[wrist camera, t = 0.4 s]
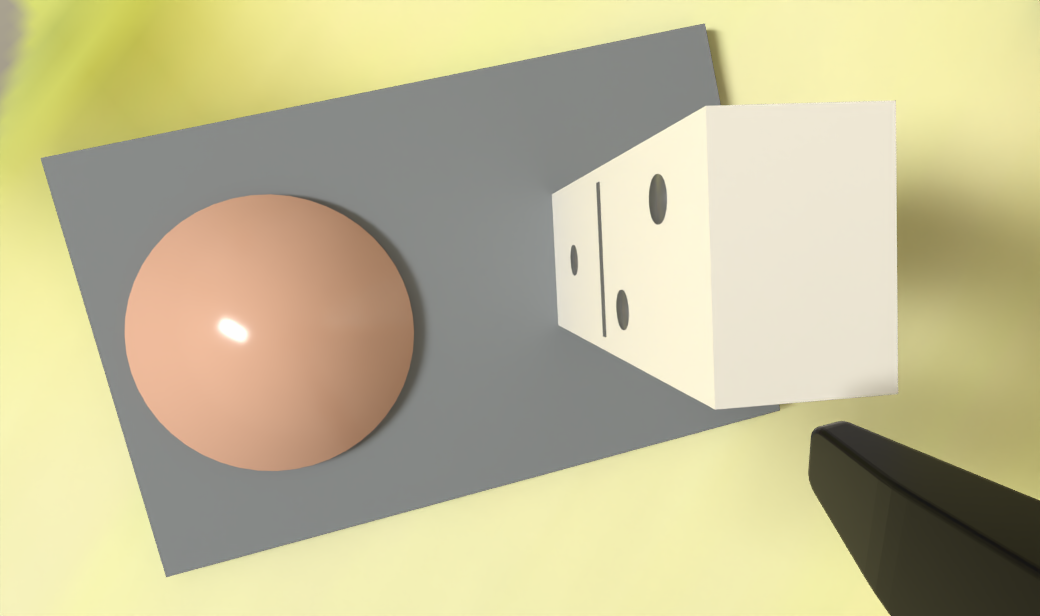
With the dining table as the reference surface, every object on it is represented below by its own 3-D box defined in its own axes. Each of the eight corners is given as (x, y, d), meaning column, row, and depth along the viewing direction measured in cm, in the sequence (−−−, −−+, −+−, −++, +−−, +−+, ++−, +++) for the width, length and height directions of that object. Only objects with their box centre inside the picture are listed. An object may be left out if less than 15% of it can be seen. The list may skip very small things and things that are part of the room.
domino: (642, 319, 23) (899, 393, 10) (557, 324, 23) (713, 410, 10) (637, 190, 23) (897, 100, 10) (551, 194, 22) (704, 105, 10)
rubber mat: (698, 29, 23) (704, 23, 23) (771, 406, 25) (780, 410, 24) (52, 161, 21) (40, 158, 20) (173, 568, 22) (166, 577, 22)
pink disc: (353, 504, 22) (352, 508, 22) (87, 410, 21) (80, 413, 21) (455, 260, 22) (455, 260, 22) (192, 150, 21) (187, 148, 20)
